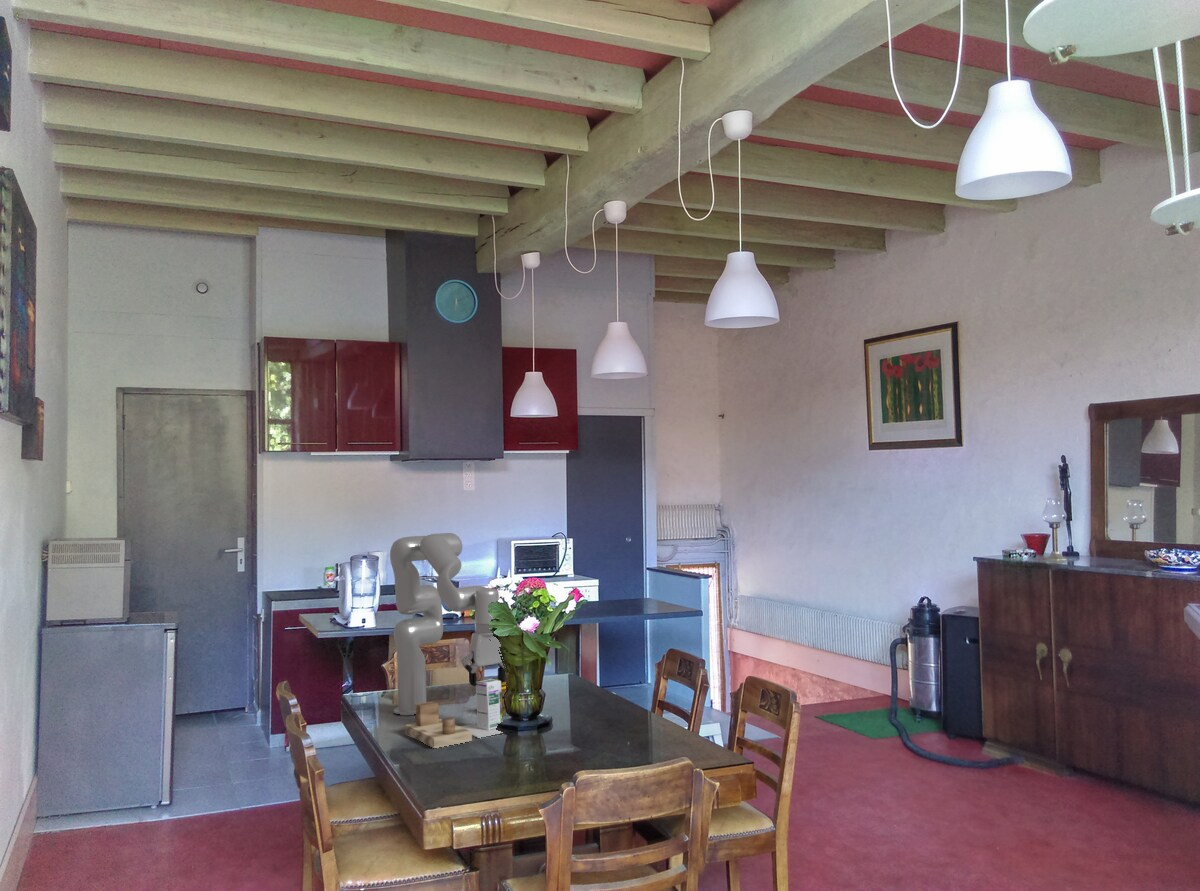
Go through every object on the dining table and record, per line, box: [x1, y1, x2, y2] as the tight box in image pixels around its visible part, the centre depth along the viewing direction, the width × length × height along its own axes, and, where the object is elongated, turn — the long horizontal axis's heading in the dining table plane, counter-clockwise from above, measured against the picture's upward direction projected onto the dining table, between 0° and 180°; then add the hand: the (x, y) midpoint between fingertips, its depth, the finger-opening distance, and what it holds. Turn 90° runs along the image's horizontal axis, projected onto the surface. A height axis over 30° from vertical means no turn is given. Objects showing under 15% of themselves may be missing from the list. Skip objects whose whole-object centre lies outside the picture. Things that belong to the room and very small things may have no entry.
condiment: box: [491, 676, 507, 717], centre depth 313 cm, size 7×8×12 cm
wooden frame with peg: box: [404, 701, 473, 749], centre depth 284 cm, size 22×12×9 cm, turn 33°
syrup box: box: [475, 678, 504, 730], centre depth 293 cm, size 6×6×14 cm
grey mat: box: [459, 723, 503, 739], centre depth 292 cm, size 16×16×1 cm
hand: (487, 683), depth 294 cm, fingers open, 9 cm apart
